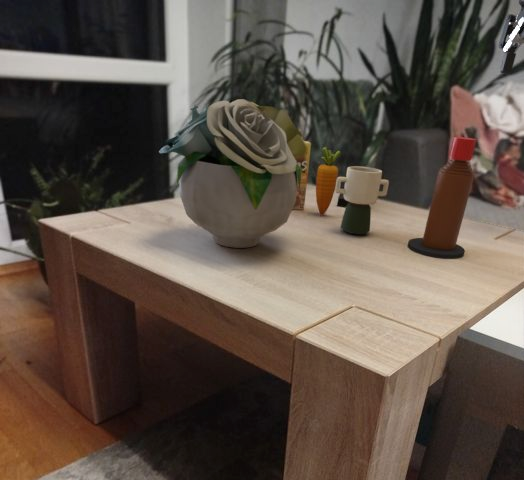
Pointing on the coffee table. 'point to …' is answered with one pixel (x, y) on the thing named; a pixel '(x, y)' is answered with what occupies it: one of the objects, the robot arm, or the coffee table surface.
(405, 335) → the coffee table surface
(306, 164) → the candy box
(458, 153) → the cap
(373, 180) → the cream green handled vessel
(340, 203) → the vhs tape
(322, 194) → the carrot
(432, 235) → the bottle
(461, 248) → the coaster
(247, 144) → the flower arrangement
